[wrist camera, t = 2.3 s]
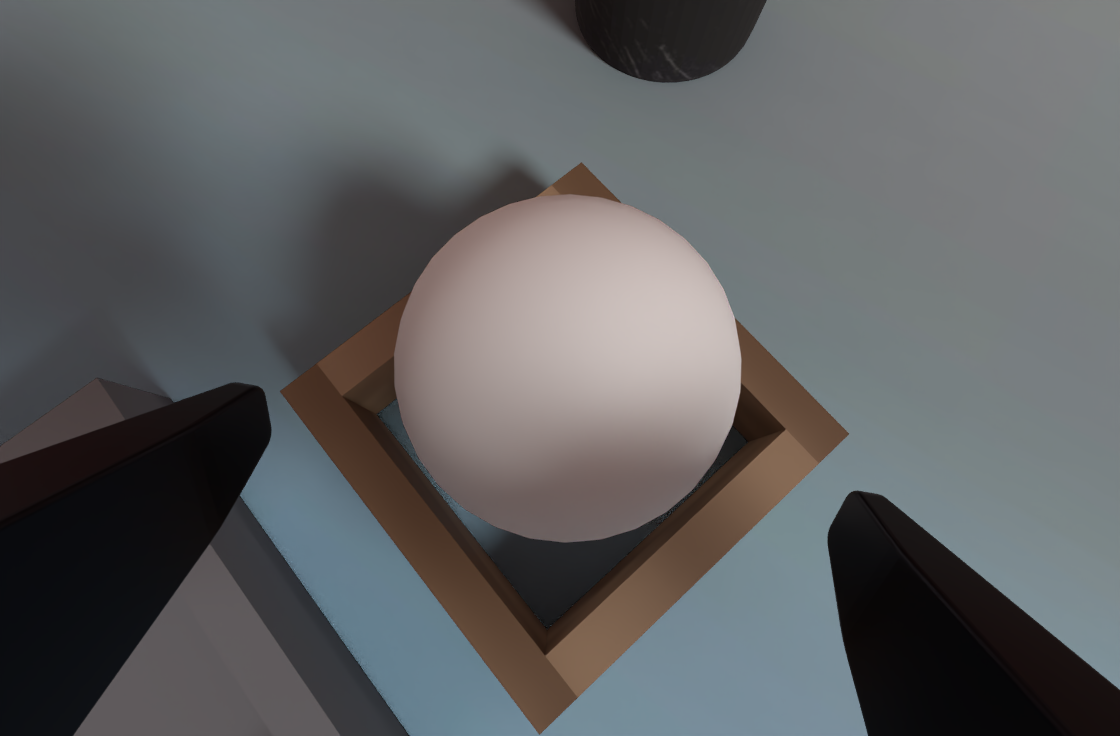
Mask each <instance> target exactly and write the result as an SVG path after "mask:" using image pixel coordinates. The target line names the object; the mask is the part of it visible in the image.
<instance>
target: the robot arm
mask: <svg viewBox="0 0 1120 736" xmlns="http://www.w3.org/2000/svg"><path fill="white" fill-rule="evenodd" d="M270 438H271V423H270V418H269V412H268V407H267V401H266V396H265V393H264V391H263V389H262V388H260V387H258V386H255V385H249V384H243V383H236V382H235V383H229V384H226V385H224V386H221V387H218V388H215V389H212V390H209V391H206V392H204V393H201V394H198V395H195V396H192V397H189V398H186V399H183V400H181V401H178V402H175V403H172V404H169V405H166V406H163V407H161V408H158V409H155V410H152V411H149V412H146V413H143V414H140V415H138V416H135V417H132V418H129V419H126V420H123V421H120V422H117V423H115V424H112V425H109V426H106V427H103V428H100V429H97V430H95V431H92V432H89V433H86V434H83V435H80V436H77V437H74V438H72V439H69V440H66V441H63V442H60V443H57V444H54V445H52V446H49V447H46V448H43V449H40V450H37V451H34V452H31V453H29V454H26V455H23V456H20V457H17V458H14V459H11V460H9V461H6V462H3V463H0V736H73V735H74V734H75V733H76V731H77V730H78V728H79V727H80V726H81V724H82V723H83V721H84V720H85V719H86V717H87V716H88V714H89V713H90V712H91V710H92V709H93V707H94V706H95V704H96V703H97V702H98V700H99V699H100V697H101V696H102V695H103V693H104V692H105V690H106V689H107V688H108V686H109V685H110V683H111V682H112V681H113V679H114V678H115V676H116V675H117V674H118V672H119V671H120V669H121V668H122V666H123V665H124V664H125V662H126V661H127V659H128V658H129V657H130V655H131V654H132V652H133V651H134V650H135V648H136V647H137V645H138V644H139V643H140V641H141V640H142V638H143V637H144V636H145V634H146V633H147V631H148V630H149V629H150V627H151V626H152V624H153V623H154V621H155V620H156V619H157V617H158V616H159V614H160V613H161V612H162V610H163V609H164V607H165V606H166V605H167V603H168V602H169V600H170V599H171V598H172V596H173V595H174V593H175V592H176V591H177V589H178V588H179V586H180V585H181V583H182V582H183V581H184V579H185V578H186V576H187V575H188V574H189V572H190V571H191V569H192V568H193V567H194V565H195V564H196V562H197V561H198V560H199V558H200V557H201V555H202V554H203V553H204V551H205V550H206V548H207V547H208V546H209V544H210V543H211V541H212V540H213V538H214V537H215V535H216V534H217V532H218V531H219V529H220V528H221V526H222V525H223V523H224V521H225V520H226V518H227V517H228V515H229V513H230V511H231V510H232V508H233V506H234V504H235V503H236V501H237V499H238V497H239V495H240V494H241V492H242V490H243V488H244V487H245V485H246V483H247V481H248V479H249V478H250V476H251V474H252V472H253V471H254V469H255V467H256V465H257V463H258V462H259V460H260V458H261V456H262V455H263V453H264V451H265V449H266V447H267V446H268V444H269V441H270ZM828 550H829V556H830V563H831V569H832V576H833V582H834V588H835V595H836V601H837V608H838V614H839V621H840V627H841V632H842V637H843V642H844V646H845V651H846V655H847V659H848V662H849V666H850V670H851V674H852V677H853V681H854V685H855V688H856V692H857V696H858V700H859V703H860V707H861V711H862V714H863V718H864V722H865V726H866V729H867V733H868V736H1120V690H1119V689H1118V688H1117V687H1116V686H1114V685H1113V684H1112V683H1111V682H1110V681H1108V680H1107V679H1106V678H1105V677H1103V676H1102V675H1101V674H1100V673H1099V672H1097V671H1096V670H1095V669H1094V668H1092V667H1091V666H1090V665H1089V664H1088V663H1086V662H1085V661H1084V660H1083V659H1082V658H1080V657H1079V656H1078V655H1077V654H1075V653H1074V652H1073V651H1072V650H1071V649H1069V648H1068V647H1067V646H1066V645H1064V644H1063V643H1062V642H1061V641H1060V640H1058V639H1057V638H1056V637H1055V636H1053V635H1052V634H1051V633H1050V632H1049V631H1047V630H1046V629H1045V628H1044V627H1043V626H1041V625H1040V624H1039V623H1038V622H1036V621H1035V620H1034V619H1033V618H1032V617H1030V616H1029V615H1028V614H1027V613H1025V612H1024V611H1023V610H1022V609H1021V608H1019V607H1018V606H1017V605H1016V604H1014V603H1013V602H1012V601H1011V600H1010V599H1008V598H1007V597H1006V596H1005V595H1004V594H1002V593H1001V592H1000V591H999V590H997V589H996V588H995V587H994V586H993V585H991V584H990V583H989V582H988V581H986V580H985V579H984V578H983V577H982V576H980V575H979V574H978V573H977V572H975V571H974V570H973V569H972V568H971V567H969V566H968V565H967V564H966V563H965V562H963V561H962V560H961V559H960V558H958V557H957V556H956V555H955V554H954V553H952V552H951V551H950V550H949V549H947V548H946V547H945V546H944V545H943V544H941V543H940V542H939V541H938V540H937V539H935V538H934V537H933V536H932V535H930V534H929V533H928V532H927V531H926V530H924V529H923V528H922V527H921V526H919V525H918V524H917V523H916V522H915V521H913V520H912V519H911V518H910V517H908V516H907V515H906V514H905V513H904V512H902V511H901V510H900V509H899V508H898V507H896V506H895V505H894V504H893V503H891V502H890V501H889V500H888V499H887V498H885V497H884V496H882V495H879V494H875V493H869V492H863V491H853V492H851V493H849V494H848V496H847V497H846V499H845V500H844V502H843V504H842V506H841V508H840V510H839V511H838V513H837V515H836V517H835V519H834V521H833V522H832V524H831V526H830V529H829V532H828Z"/></svg>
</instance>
